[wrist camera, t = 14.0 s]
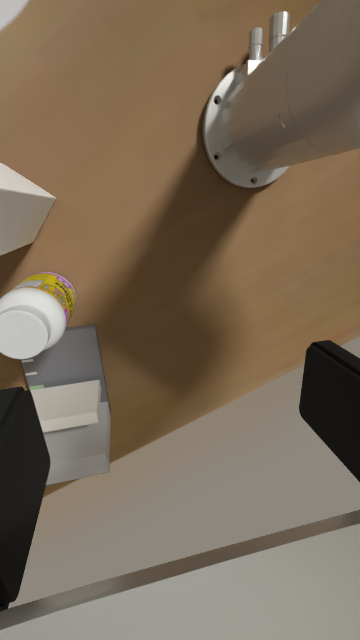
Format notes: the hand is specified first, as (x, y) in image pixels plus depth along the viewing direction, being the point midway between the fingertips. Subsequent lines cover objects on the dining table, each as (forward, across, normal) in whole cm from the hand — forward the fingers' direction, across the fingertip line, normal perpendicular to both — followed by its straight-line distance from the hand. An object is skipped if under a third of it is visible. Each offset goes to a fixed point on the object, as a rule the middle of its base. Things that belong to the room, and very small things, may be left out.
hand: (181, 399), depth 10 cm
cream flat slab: (+28, +12, +17) cm, 35 cm away
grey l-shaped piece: (+30, +11, +16) cm, 36 cm away
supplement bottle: (+31, +11, +4) cm, 33 cm away
